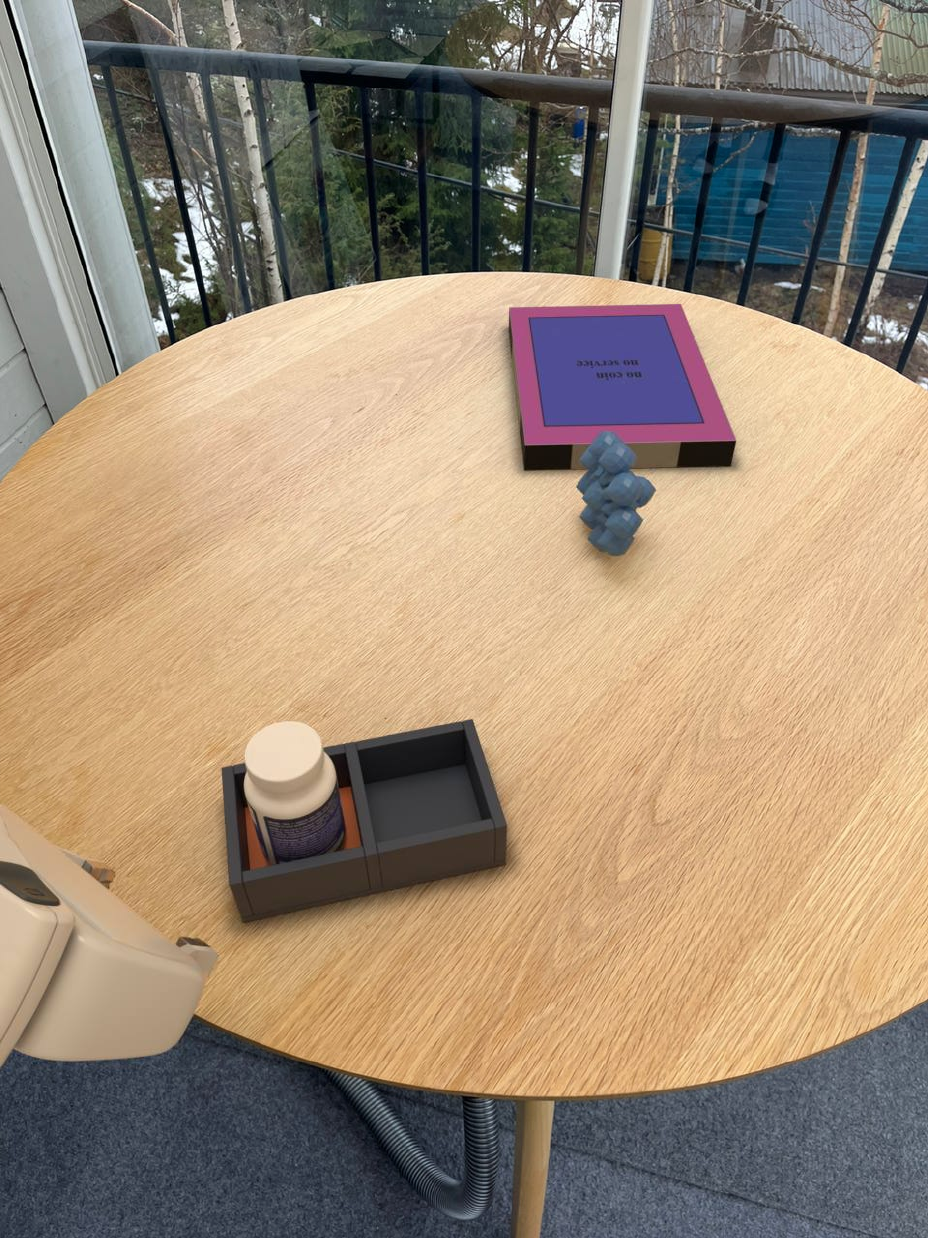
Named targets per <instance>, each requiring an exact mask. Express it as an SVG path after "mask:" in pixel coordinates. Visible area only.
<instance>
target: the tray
mask: <svg viewBox="0 0 928 1238" xmlns="http://www.w3.org/2000/svg"><path fill="white" fill-rule="evenodd" d="M323 750H324V752H325V753H326V754H327V755H328V756H329V758H330V759H331V761H332V763H333V765H334V768H335V771H336V776H337V781H338V787H339V792H340V798H341V803H342V809H343V815H344V820H345V826H346V842H345V846H344V848H343V850H342V851H337V852H332V853H328V854H323V855H318V856H313V857H309V858H304V859H299V860H295V861H290V862H285V863H280V864H276V865H271V866H270V865H269V864H268V862H267V861H266V859H265V858H264V855H263V853H262V850H261V847H260V844H259V841H258V837H257V834H256V830H255V827H254V823H253V820H252V816H251V813H250V810H249V806H248V803H247V800H246V796H245V791H244V780H245V775H246V772H247V769H246V765H245V762H242V763H236V764H233V765H228V766H223V767H221V783H222V784H221V785H222V796H223V797H222V798H223V810H224V811H223V813H224V825H225V826H224V827H225V840H226V841H225V842H226V843H225V844H226V854H227V855H226V857H227V869H228V870H227V872H228V885H229V888H230V890H231V894H232V897H233V899H234V902H235V904H236V908H237V911H238V913H239V916H240V920H241V922H242V923H248V922H252V921H253V922H254V921H257V920H261V919H265V918H271V917H275V916H279V915H284V914H287V913H288V914H289V913H294V912H298V911H303V910H307V909H311V908H316V907H321V906H324V905H329V904H334V903H338V902H342V901H347V900H351V899H357V898H361V897H366V896H369V895H374V894H379V893H384V892H388V891H392V890H397V889H401V888H406V887H411V886H414V885H420V884H424V883H428V882H434V881H437V880H438V881H439V880H442V879H446V878H452V877H456V876H460V875H461V876H462V875H464V874H470V873H474V872H478V871H484V870H487V869H491V868H496V867H502V866H506V865H507V839H508V824H507V821H506V818H505V815H504V812H503V809H502V805H501V802H500V799H499V796H498V793H497V790H496V787H495V784H494V781H493V778H492V777H493V776H492V774H491V771H490V768H489V765H488V762H487V759H486V756H485V753H484V749H483V747H482V743H481V739H480V736H479V734H478V731H477V728H476V724H475V722H474V719H473V718H470V719H469V718H468V719H463V720H459V721H454V722H448V723H444V724H439V725H434V726H429V727H423V728H419V729H413V730H408V731H402V732H398V733H397V732H396V733H393V734H388V735H383V736H377V737H371V738H367V739H366V738H365V739H362V740H356V741H350V742H345V743H340V744H335V745H330V746H325V747H324V746H323Z"/></svg>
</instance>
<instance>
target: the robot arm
mask: <svg viewBox="0 0 928 1238" xmlns="http://www.w3.org/2000/svg"><path fill="white" fill-rule="evenodd" d="M115 879H116V872H115V871H114V870H113V869H112V868H111V867H110V866H108V864H106V862H104V861H103V860H101V859H99V858H94V857H89V856H84V855H80V854H77V853H75V852H74V851H71V850H68V849H66V848H63V847H61V846H59V845H57V844H54V843H52V842H51V841H49V840H48V839H47V838H46V837H45V836H44V835H42V834H41V833H40V832H39V831H37V830H36V829H35V828H34V827H32V826H31V825H30V824H29V823H27V822H26V821H25V820H24V819H22V818H21V817H20V816H19V815H18V814H17V813H15V811H13V810H12V809H11V808H9V807H7V806H6V805H4V804H1V803H0V1068H1V1067H3V1065H4V1064H5V1062H6V1060H8V1057H9V1056H10V1055H11V1052H12V1051H13V1050H15V1051H17V1052H19V1053H20V1054H24V1055H27V1056H29V1057H32V1058H35V1059H40V1060H44V1061H45V1060H46V1061H53V1062H54V1061H55V1062H92V1061H93V1062H94V1061H95V1062H96V1061H114V1060H123V1059H124V1060H125V1059H135V1058H142V1057H143V1058H144V1057H151V1056H158V1055H160V1054H164V1053H166V1052H168V1051H170V1050H171V1049H173V1047H175V1045H176V1044H177V1043H178V1042H179V1041H180V1039H181V1037H182V1036H183V1035H184V1033H185V1031H186V1029H187V1028H188V1026H189V1024H190V1022H191V1021H192V1019H193V1017H194V1015H195V1012H196V1010H197V1008H198V1005H199V1003H200V1001H201V999H202V997H203V993H204V991H205V989H206V985H207V982H208V979H209V977H210V976H211V973H212V972H213V970H214V968H215V966H216V963H217V961H218V960H219V953H218V951H216V950H215V949H214V948H212V947H211V946H210V945H209V944H208V943H206V942H205V941H203V940H202V939H201V938H199V937H194V938H192V937H191V936H179V937H178V938H177V941H176V942H175V943H174V941H172V940H171V939H170V938H168V937H167V936H166V935H165V934H163V933H162V932H161V931H160V930H159V929H157V928H156V927H155V926H154V925H153V924H151V923H150V922H149V921H148V920H146V919H145V918H144V917H143V916H141V914H139V913H138V912H137V911H135V910H134V909H133V908H132V907H130V906H129V905H128V904H127V903H125V901H123V899H121V898H119V897H118V896H117V895H116V894H115V893H113V892H112V891H111V890H110V885H111V884H112V883H113V882H114V880H115Z"/></svg>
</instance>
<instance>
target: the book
mask: <svg viewBox="0 0 928 1238" xmlns="http://www.w3.org/2000/svg"><path fill="white" fill-rule="evenodd" d="M508 337H509V347H510V356H511V365H512V373H513V374H512V375H513V383H514V393H515V401H516V409H517V410H516V411H517V420H518V428H519V429H518V430H519V438H520V448H521V457H522V467H523V471H552V470H553V471H554V470H555V471H557V470H559V471H560V470H561V471H562V470H587V469H586V468H585V467H584V465H583V464H582V463H581V462H580V461H579V460H580V458H581V456H582V455H583V453H584V452H585V451H586V449H587V448H588V447H589V446H590V445H591V443H592V442H593V441H594V439H595V438H596V437H597V436H598V434H600V433H602V432H603V431H610V432H613V433H615V434H616V435H617V436H619V438H620V439H621V440H622V441H623V443H624V444H625V445H627V446H628V447H630V448H631V450H632V451H633V452H634V453H635V455H636V456H637V459H636V461H635V463H634V464H633V466H632V467H631V468H630V469H653V468H656V469H657V468H659V469H660V468H696V467H697V468H698V467H699V468H700V467H706V468H707V467H731V466H732V463H733V459H734V453H735V449H736V446H737V445H736V444H737V438H736V436H735V433H734V431H733V428H732V426H731V423H730V421H729V419H728V416H727V414H726V412H725V408H724V406H723V404H722V402H721V399H720V397H719V395H718V392H717V389H716V387H715V384H714V382H713V379H712V377H711V374H710V372H709V369H708V366H707V365H706V362H705V360H704V356H703V355H702V352H701V350H700V347H699V345H698V343H697V339H696V337H695V335H694V332H693V330H692V328H691V325H690V323H689V320H688V318H687V315H686V313H685V311H684V307H683V305H682V303H659V304H658V303H657V304H653V303H651V304H611V305H610V304H609V305H608V304H607V305H605V304H603V305H563V306H562V305H561V306H560V305H559V306H513V307H511V306H510V307H508Z"/></svg>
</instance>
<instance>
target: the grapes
mask: <svg viewBox="0 0 928 1238" xmlns="http://www.w3.org/2000/svg"><path fill="white" fill-rule="evenodd" d="M636 459H637V456H636V455H635V453H634V452H633V451H632V450H631V448H630V447H628V446H627V445H625V444H624V443H623V441H622V440H621V439H620V438H619V436H617V435H616V434H615V433H613V432H610V431H603V432H602V433H600V434H598V436H597V437H596V438H595V439H594V441H593V442H592V443H591V445H590V446H589V447H588V448H587V449H586V451H585V452H584V453H583V455H582V456H581V458H580V460H579V461H580V462H581V463H582V464H583V465H584V467H585V468H586V469H585V470H587V471H585V472H584V474H583V475H582V477H581V478H580V479H579V481H578V482H577V484H576V486H575V487H576V489H577V490H578V491H579V492H580V493H581V494H582V497H581V499H582V501H583V502H584V503H585V504H586V506H585V507H584V508H583V509H582V512H581V513H580V514H579V517H578V518H579V519H580V520H581V521H582V522H583V523H584V525H585V526H586V527H588V528H589V529H590V530H591V531H590V533H589V535H588V536H587V541H588V542H589V543H590V544H591V545H592V546H593V547H594V549H596V550H597V551H598V552H601V553H606V554H608V555H609V556H611V557H617V558H618V557H621V556H623V555H625V554H626V552H627V551H628V550H630V548H631V546H632V544H633V542H634V541H635V539H636V538H635V537H634V535H635V534H637V531H639V528H640V527H641V525H642V524H643V522H644V519H643V517H641V515H640V514H639V513H638V512H637V509H638V508H639V509H641V508H643V507H645V506H647V505H648V503H649V502H650V501H652V500H651V499H652V498H653V496H654V495H655V493H656V491H657V489H656V487H655V486H654V485H653V484H652V483H651V481H650V480H649V479H647V478H646V477H644V476H640V475H636V474H635V472H633V471H632V470H631V469H632V468H631V467H632V466H633V464H634V463H635V461H636Z"/></svg>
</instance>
